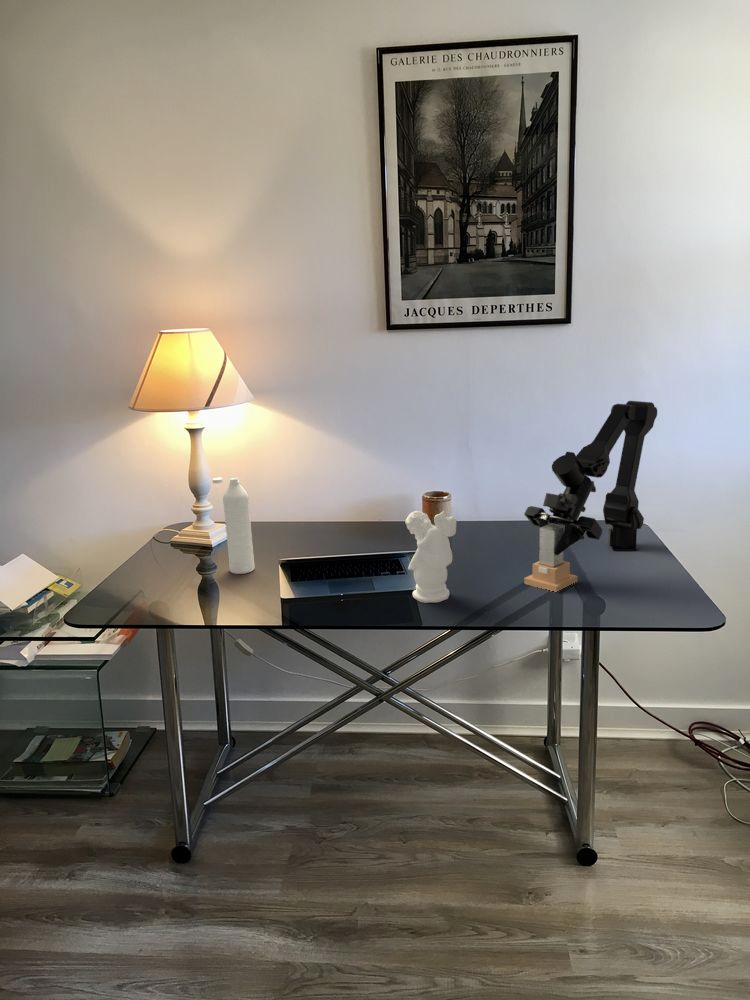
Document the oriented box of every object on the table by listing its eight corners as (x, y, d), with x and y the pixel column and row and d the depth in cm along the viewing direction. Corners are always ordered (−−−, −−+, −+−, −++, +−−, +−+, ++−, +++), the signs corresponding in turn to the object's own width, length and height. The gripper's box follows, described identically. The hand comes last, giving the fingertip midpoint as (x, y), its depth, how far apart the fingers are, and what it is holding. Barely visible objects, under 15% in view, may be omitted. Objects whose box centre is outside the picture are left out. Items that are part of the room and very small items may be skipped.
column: (548, 568, 193) (549, 523, 190) (563, 572, 190) (564, 526, 187) (538, 573, 190) (539, 527, 187) (553, 577, 187) (554, 531, 184)
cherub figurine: (402, 594, 188) (398, 505, 182) (442, 581, 195) (439, 495, 189) (435, 609, 178) (431, 515, 173) (475, 595, 185) (473, 504, 180)
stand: (545, 573, 197) (545, 554, 195) (577, 581, 190) (577, 562, 189) (524, 583, 191) (524, 564, 189) (556, 592, 185) (556, 572, 183)
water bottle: (256, 565, 212) (248, 474, 205) (252, 573, 206) (244, 480, 199) (224, 566, 212) (215, 476, 205) (219, 575, 206) (209, 482, 199)
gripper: (528, 474, 193) (501, 528, 189) (597, 485, 180) (569, 543, 176) (546, 498, 201) (521, 550, 196) (613, 510, 187) (587, 567, 183)
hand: (548, 552), depth 188 cm, fingers closed on column, 4 cm apart
